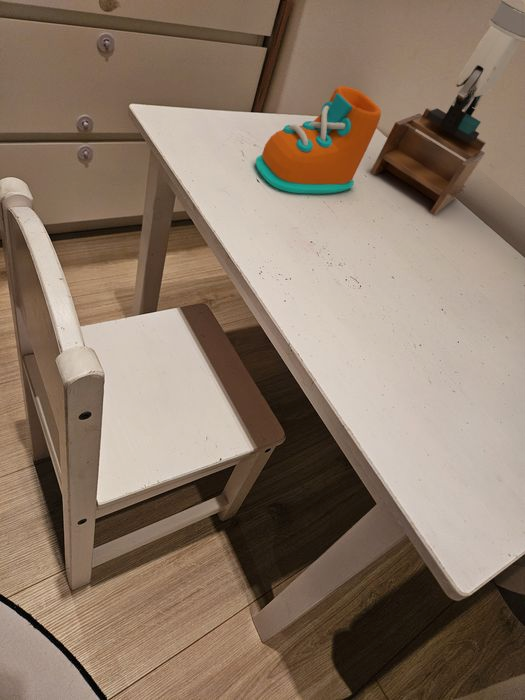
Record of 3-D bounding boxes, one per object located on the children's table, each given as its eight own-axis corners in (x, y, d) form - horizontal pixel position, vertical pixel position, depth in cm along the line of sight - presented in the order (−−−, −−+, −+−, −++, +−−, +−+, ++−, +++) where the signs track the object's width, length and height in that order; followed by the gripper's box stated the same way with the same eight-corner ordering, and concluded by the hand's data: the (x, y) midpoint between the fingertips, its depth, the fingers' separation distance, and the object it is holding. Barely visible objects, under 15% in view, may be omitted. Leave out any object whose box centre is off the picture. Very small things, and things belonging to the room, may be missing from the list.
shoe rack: (453, 200, 101) (490, 145, 92) (432, 215, 93) (471, 158, 84) (393, 161, 105) (423, 105, 95) (369, 173, 97) (399, 114, 88)
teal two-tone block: (425, 117, 91) (434, 101, 89) (434, 113, 94) (442, 99, 92) (468, 143, 89) (478, 128, 87) (475, 139, 92) (485, 124, 90)
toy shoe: (244, 158, 86) (268, 72, 75) (327, 160, 95) (359, 84, 84) (273, 197, 80) (304, 111, 69) (359, 195, 89) (397, 119, 78)
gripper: (507, 12, 84) (450, 111, 98) (479, 12, 74) (419, 124, 87) (544, 30, 83) (480, 129, 96) (521, 34, 72) (452, 145, 85)
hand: (451, 126), depth 91 cm, fingers closed on teal two-tone block, 4 cm apart
